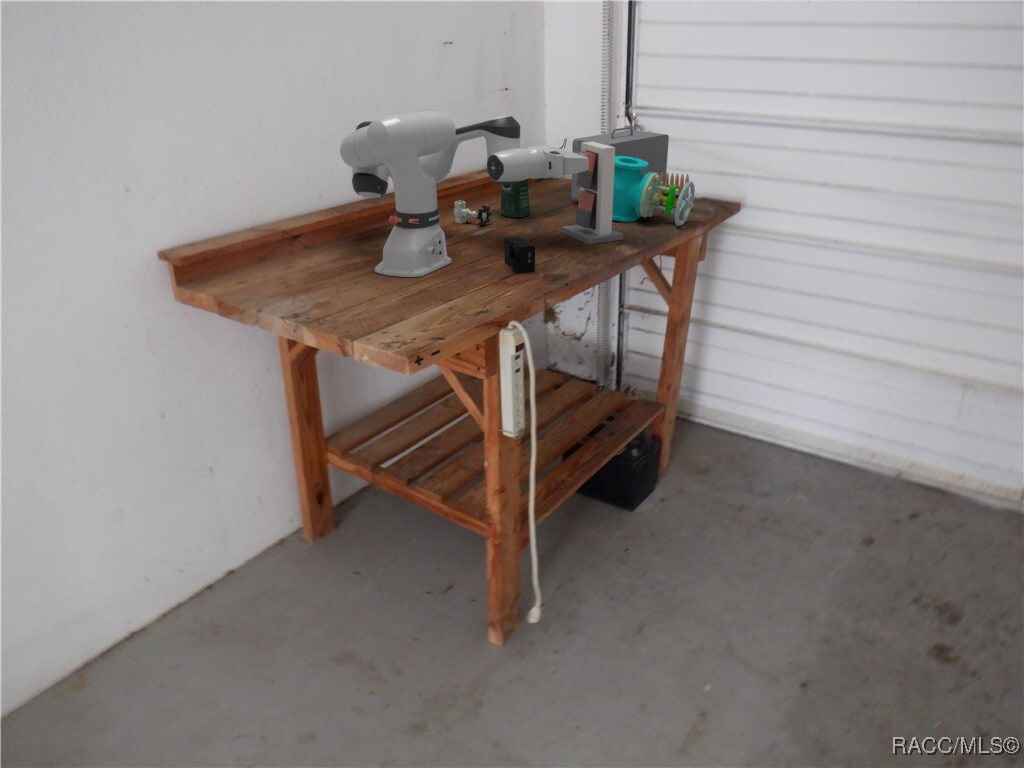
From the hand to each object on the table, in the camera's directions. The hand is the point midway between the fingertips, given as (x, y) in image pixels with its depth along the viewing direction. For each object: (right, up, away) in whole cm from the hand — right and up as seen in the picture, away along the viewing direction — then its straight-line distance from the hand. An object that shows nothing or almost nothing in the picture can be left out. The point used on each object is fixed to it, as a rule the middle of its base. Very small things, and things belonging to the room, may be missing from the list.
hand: (585, 156), depth 236 cm
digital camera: (-20, -35, -17) cm, 43 cm away
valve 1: (-35, -15, +26) cm, 46 cm away
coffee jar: (-20, -10, +35) cm, 42 cm away
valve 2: (+22, -13, +27) cm, 37 cm away
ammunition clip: (+33, -6, +42) cm, 54 cm away
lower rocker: (0, -19, +8) cm, 20 cm away
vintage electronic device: (+16, -1, +54) cm, 57 cm away
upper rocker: (0, -8, +3) cm, 9 cm away
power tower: (+2, -21, +11) cm, 24 cm away
